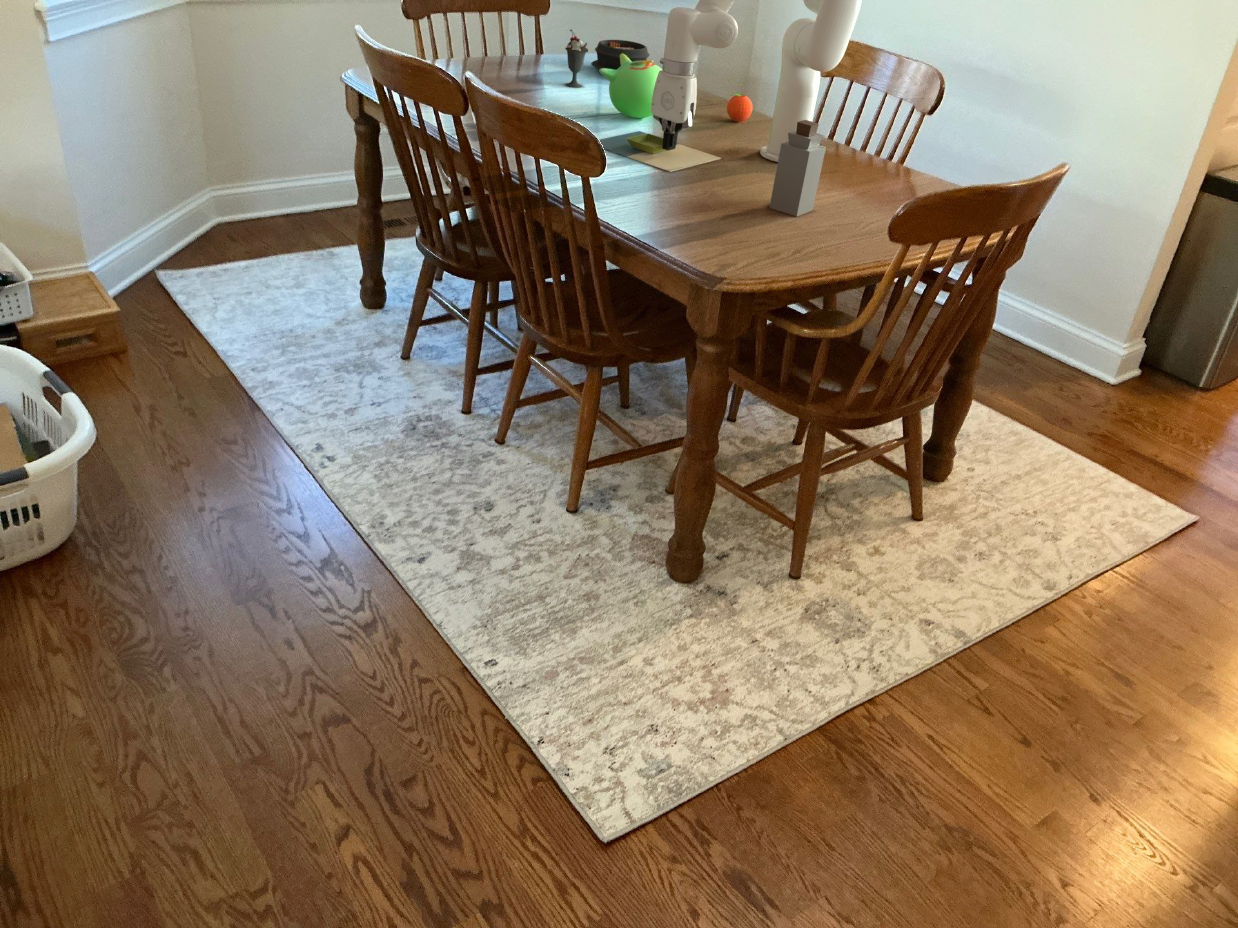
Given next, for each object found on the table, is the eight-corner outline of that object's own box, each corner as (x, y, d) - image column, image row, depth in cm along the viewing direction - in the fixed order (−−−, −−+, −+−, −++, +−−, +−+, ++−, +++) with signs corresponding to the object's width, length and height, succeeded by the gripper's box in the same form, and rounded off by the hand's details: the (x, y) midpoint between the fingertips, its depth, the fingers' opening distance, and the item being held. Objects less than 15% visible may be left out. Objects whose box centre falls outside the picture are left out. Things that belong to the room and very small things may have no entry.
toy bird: (654, 129, 254) (661, 69, 246) (593, 117, 257) (598, 58, 249) (674, 115, 268) (681, 58, 260) (616, 104, 272) (621, 48, 264)
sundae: (558, 83, 287) (562, 27, 279) (579, 82, 290) (583, 28, 281) (567, 88, 282) (571, 32, 274) (588, 88, 285) (593, 33, 276)
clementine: (718, 121, 267) (722, 94, 264) (724, 115, 273) (728, 89, 269) (747, 126, 266) (751, 99, 262) (752, 121, 271) (756, 94, 267)
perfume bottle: (785, 201, 213) (802, 116, 203) (812, 210, 210) (830, 124, 200) (769, 207, 209) (785, 121, 199) (796, 216, 205) (814, 129, 196)
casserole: (586, 62, 315) (589, 34, 310) (644, 66, 318) (646, 39, 313) (594, 80, 294) (597, 50, 290) (655, 84, 297) (658, 55, 293)
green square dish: (675, 151, 238) (676, 142, 237) (653, 156, 232) (654, 147, 231) (647, 141, 242) (648, 133, 241) (624, 147, 236) (625, 138, 235)
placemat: (721, 158, 237) (721, 158, 236) (669, 172, 223) (669, 171, 223) (639, 132, 250) (639, 131, 250) (586, 143, 237) (586, 142, 236)
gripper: (643, 62, 224) (634, 143, 234) (695, 76, 217) (684, 159, 227) (663, 59, 229) (654, 139, 239) (715, 73, 222) (703, 155, 232)
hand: (668, 149), depth 233 cm, fingers closed
